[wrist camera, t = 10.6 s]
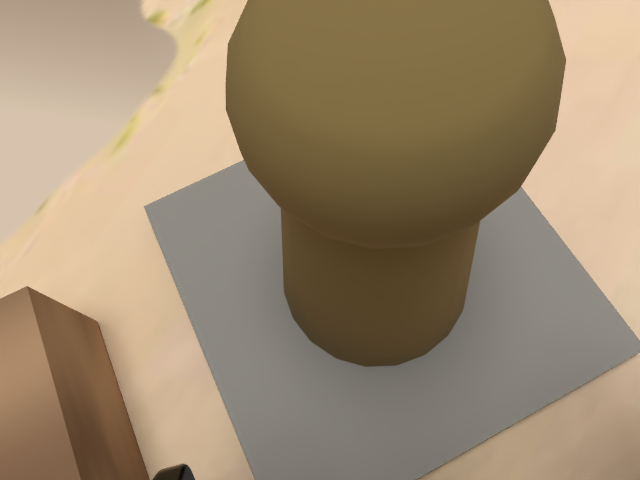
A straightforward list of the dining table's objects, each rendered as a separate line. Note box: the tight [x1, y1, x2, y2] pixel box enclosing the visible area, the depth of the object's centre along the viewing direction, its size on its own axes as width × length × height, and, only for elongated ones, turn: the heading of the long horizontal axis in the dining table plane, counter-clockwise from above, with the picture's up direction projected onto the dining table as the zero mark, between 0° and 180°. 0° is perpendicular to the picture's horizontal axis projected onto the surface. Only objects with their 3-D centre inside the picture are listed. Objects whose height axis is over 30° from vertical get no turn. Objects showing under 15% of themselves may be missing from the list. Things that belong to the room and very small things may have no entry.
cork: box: [226, 0, 566, 367], centre depth 12 cm, size 6×6×11 cm
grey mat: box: [144, 160, 640, 480], centre depth 17 cm, size 12×12×1 cm
